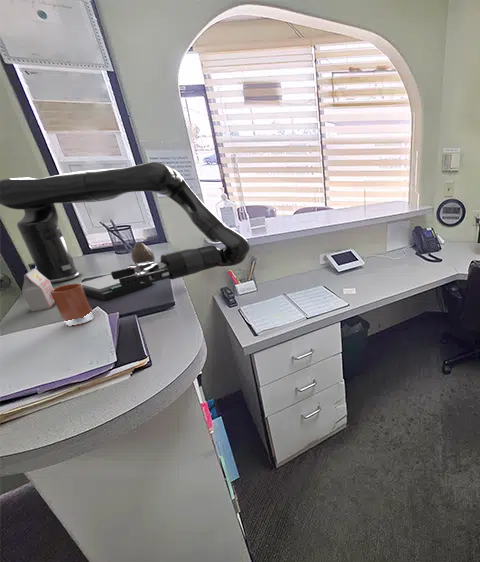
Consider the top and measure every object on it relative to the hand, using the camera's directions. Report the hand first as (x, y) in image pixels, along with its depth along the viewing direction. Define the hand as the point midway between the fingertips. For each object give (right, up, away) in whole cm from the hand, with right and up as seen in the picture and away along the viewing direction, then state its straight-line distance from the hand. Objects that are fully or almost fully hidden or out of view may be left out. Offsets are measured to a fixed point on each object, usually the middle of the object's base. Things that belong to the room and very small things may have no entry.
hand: (116, 279), depth 80 cm
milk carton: (-25, -7, +6) cm, 27 cm away
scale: (-13, -3, +16) cm, 21 cm away
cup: (-6, -10, -4) cm, 12 cm away
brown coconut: (-20, +5, +38) cm, 43 cm away
